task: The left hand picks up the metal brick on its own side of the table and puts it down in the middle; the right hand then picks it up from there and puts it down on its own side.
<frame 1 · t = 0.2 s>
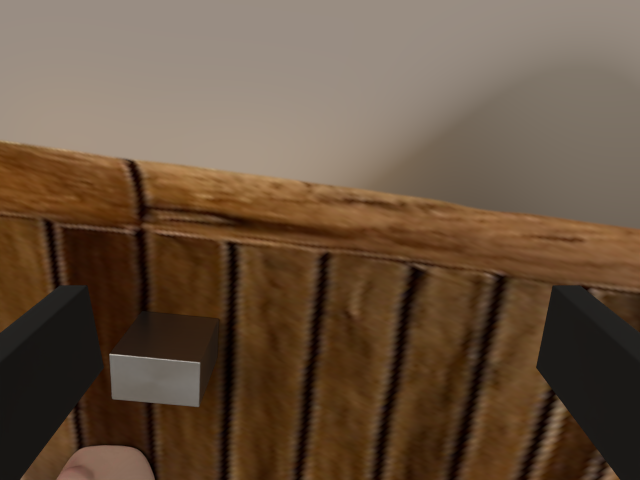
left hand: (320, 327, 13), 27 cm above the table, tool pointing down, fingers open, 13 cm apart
brick: (180, 334, 44), on the table
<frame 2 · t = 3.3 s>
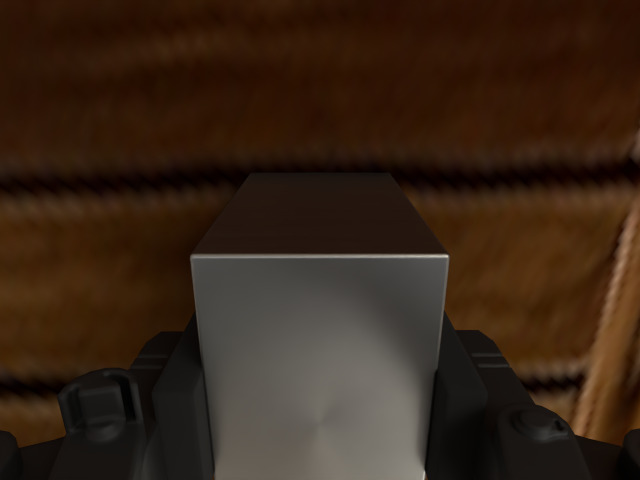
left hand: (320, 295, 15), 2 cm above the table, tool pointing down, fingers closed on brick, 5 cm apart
brick: (319, 275, 16), on the table, touching left hand
when the left hand's fingers open (3 cm above the table, at t = 7.9 s): brick drops 2 cm, on the table.
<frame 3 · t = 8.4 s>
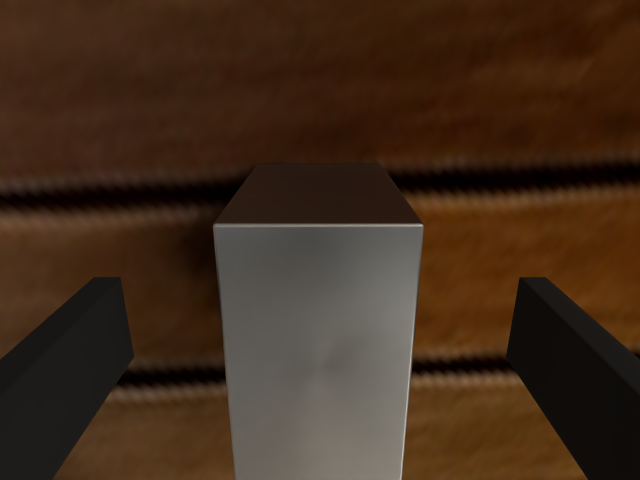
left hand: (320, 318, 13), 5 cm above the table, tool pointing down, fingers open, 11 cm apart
brick: (318, 257, 18), on the table
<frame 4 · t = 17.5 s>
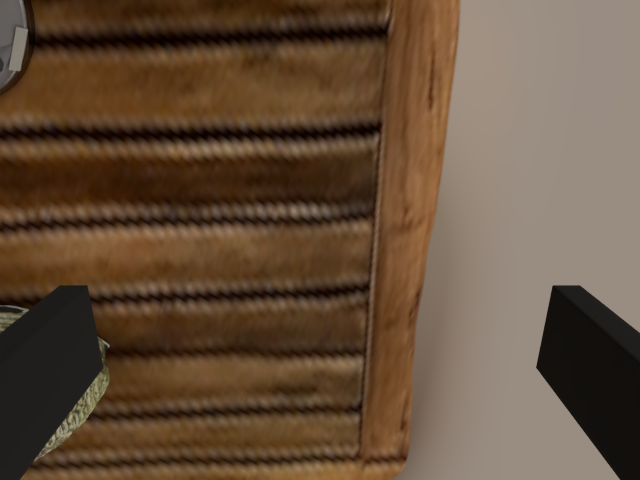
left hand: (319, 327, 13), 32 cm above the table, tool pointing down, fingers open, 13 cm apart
fossil: (45, 339, 50), on the table
when the right hand's fingers open (3 cm above the table, at t = 23.1 s): brick drops 2 cm, on the table.
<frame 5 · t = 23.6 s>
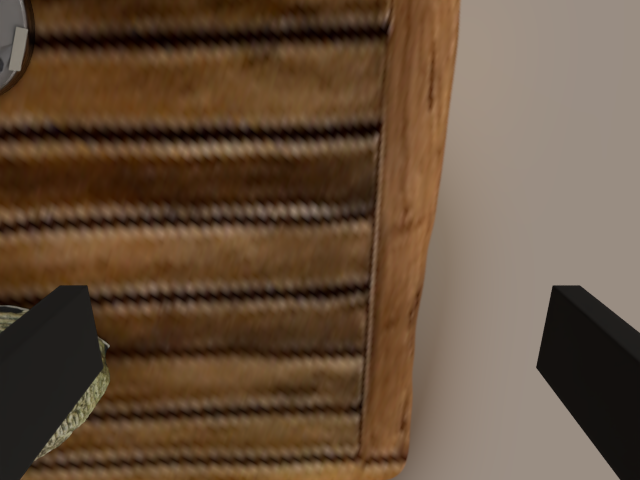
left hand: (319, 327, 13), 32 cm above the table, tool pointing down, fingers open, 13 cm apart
fossil: (45, 339, 50), on the table
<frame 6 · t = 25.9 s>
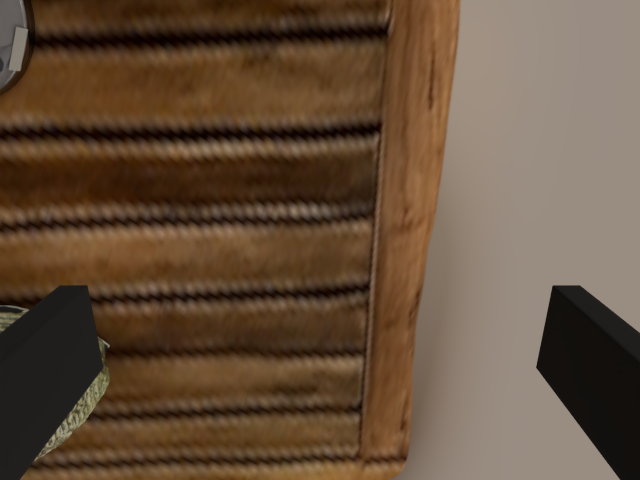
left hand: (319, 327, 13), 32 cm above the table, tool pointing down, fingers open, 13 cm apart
fossil: (45, 339, 50), on the table
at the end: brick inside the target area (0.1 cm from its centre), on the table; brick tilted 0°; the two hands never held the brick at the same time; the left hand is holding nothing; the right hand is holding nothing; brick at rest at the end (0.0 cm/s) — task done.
